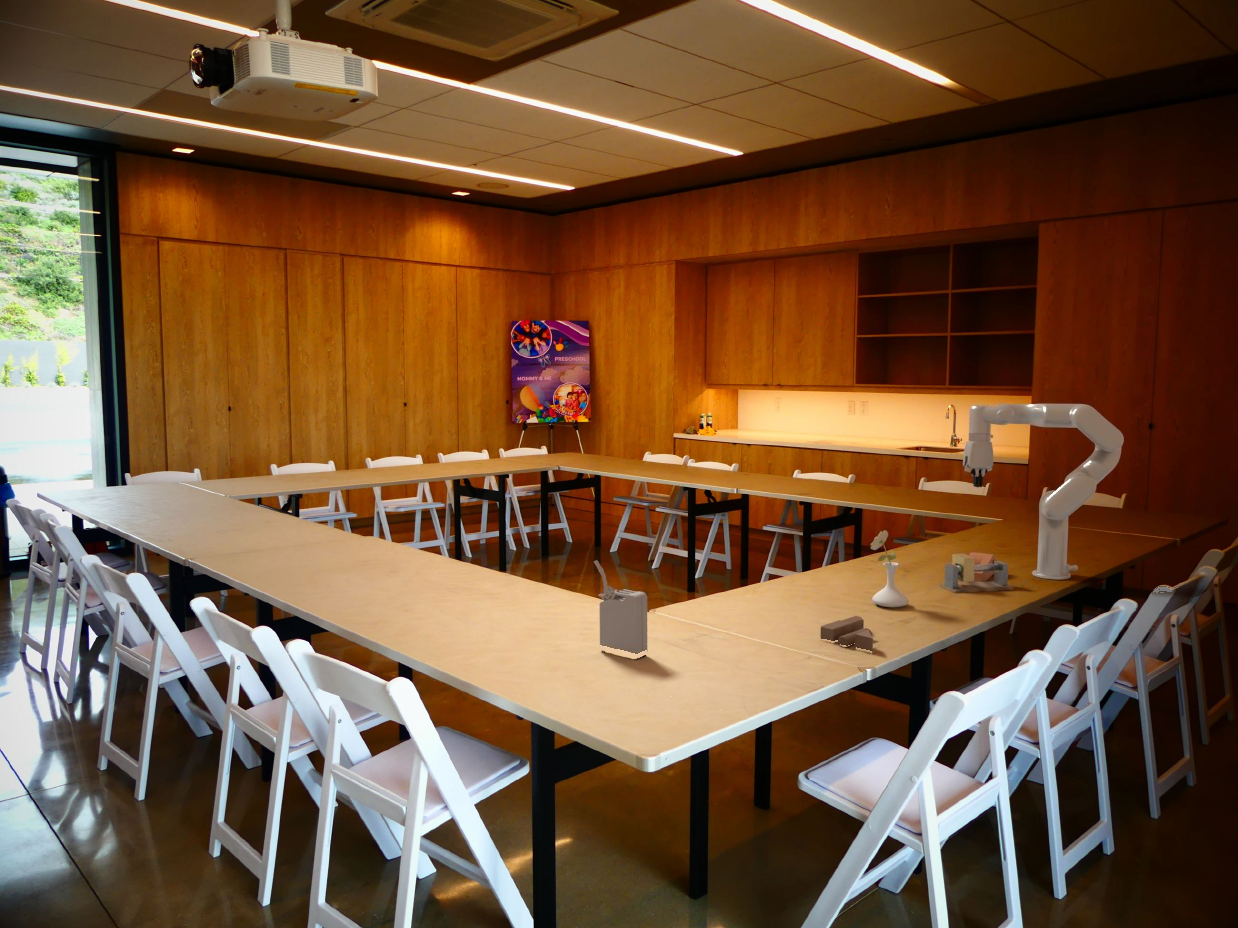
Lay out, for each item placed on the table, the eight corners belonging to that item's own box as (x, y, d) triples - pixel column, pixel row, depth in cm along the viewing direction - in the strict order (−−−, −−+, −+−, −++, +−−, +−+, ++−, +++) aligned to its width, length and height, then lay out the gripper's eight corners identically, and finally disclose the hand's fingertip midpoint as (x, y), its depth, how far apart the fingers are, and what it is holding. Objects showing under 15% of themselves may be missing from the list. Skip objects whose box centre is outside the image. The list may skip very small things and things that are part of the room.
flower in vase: (893, 599, 290) (895, 525, 288) (916, 607, 280) (918, 531, 277) (860, 603, 286) (861, 528, 283) (882, 612, 275) (884, 534, 272)
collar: (962, 576, 307) (962, 553, 307) (973, 581, 300) (974, 557, 300) (951, 577, 307) (952, 554, 306) (963, 581, 300) (964, 558, 299)
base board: (995, 582, 312) (995, 580, 312) (1013, 589, 302) (1013, 587, 302) (939, 586, 308) (939, 583, 308) (955, 593, 298) (955, 590, 298)
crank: (972, 571, 332) (973, 550, 331) (994, 573, 327) (995, 552, 326) (958, 581, 315) (959, 559, 315) (982, 584, 311) (982, 562, 310)
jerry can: (592, 649, 240) (591, 560, 237) (603, 645, 244) (602, 557, 241) (636, 661, 230) (635, 568, 228) (647, 656, 234) (647, 564, 232)
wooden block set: (818, 622, 246) (854, 611, 258) (817, 642, 247) (854, 629, 258) (870, 635, 233) (906, 623, 245) (870, 656, 234) (906, 642, 246)
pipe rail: (998, 584, 309) (999, 561, 308) (1007, 587, 304) (1008, 564, 303) (944, 587, 305) (945, 563, 305) (952, 591, 300) (953, 566, 300)
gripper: (991, 436, 331) (989, 485, 333) (955, 437, 328) (953, 486, 330) (1003, 438, 324) (1001, 487, 325) (967, 439, 321) (965, 488, 323)
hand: (977, 486), depth 328 cm, fingers closed
